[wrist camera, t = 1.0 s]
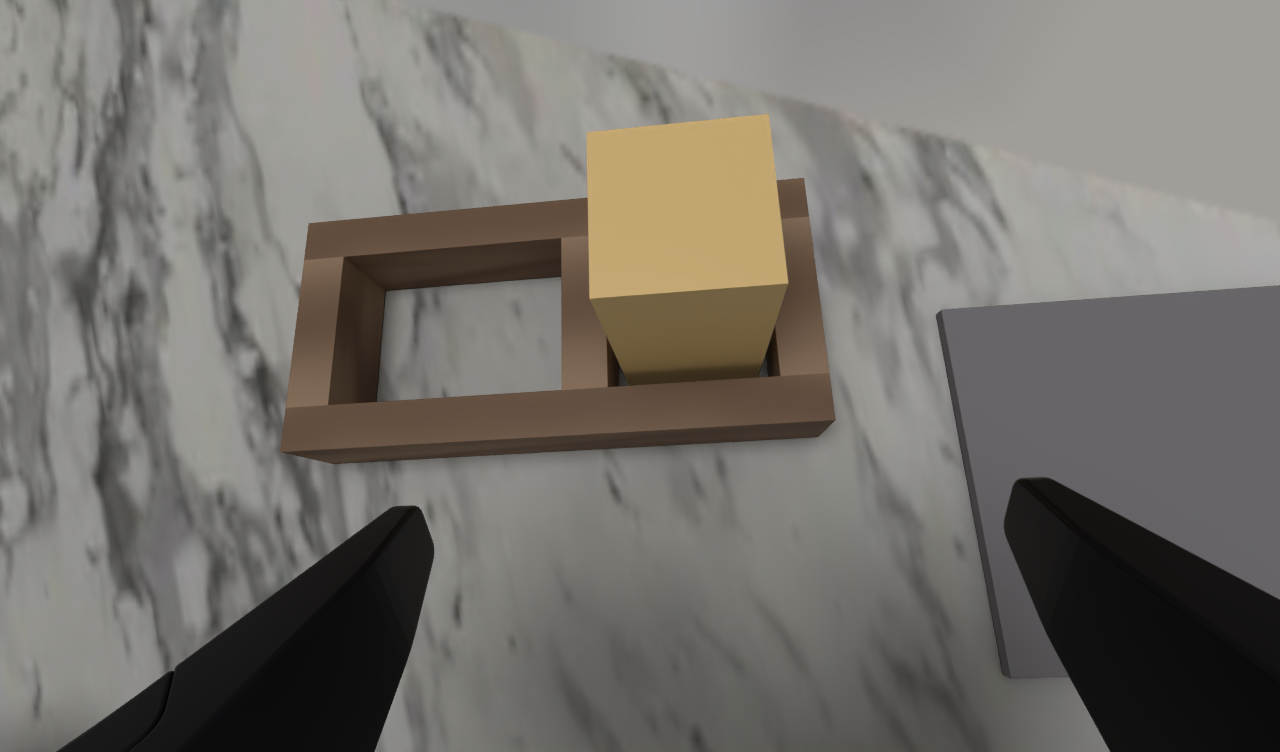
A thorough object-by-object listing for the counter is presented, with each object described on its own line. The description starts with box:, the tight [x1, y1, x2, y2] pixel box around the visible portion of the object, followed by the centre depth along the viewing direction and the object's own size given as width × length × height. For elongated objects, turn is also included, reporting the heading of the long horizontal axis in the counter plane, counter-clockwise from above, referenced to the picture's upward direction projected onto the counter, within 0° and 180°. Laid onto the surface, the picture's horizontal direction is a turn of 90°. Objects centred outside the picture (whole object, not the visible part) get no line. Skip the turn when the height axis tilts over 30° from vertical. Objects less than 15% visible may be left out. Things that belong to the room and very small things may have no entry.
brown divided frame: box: [280, 178, 835, 464], centre depth 22 cm, size 8×18×3 cm, turn 92°
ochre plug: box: [587, 114, 788, 386], centre depth 19 cm, size 4×4×9 cm
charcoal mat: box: [936, 285, 1280, 678], centre depth 20 cm, size 12×12×1 cm
